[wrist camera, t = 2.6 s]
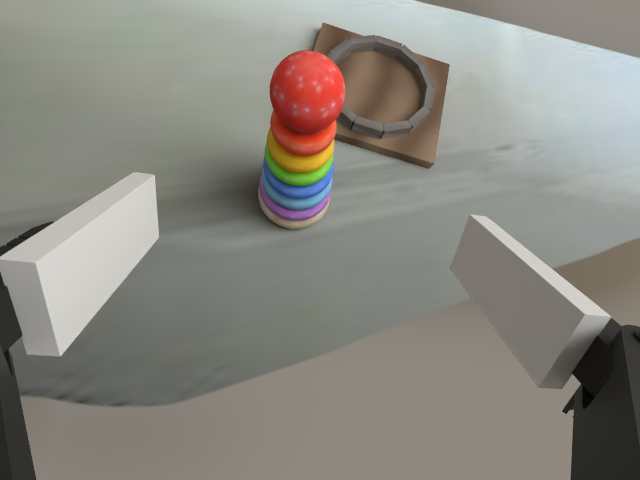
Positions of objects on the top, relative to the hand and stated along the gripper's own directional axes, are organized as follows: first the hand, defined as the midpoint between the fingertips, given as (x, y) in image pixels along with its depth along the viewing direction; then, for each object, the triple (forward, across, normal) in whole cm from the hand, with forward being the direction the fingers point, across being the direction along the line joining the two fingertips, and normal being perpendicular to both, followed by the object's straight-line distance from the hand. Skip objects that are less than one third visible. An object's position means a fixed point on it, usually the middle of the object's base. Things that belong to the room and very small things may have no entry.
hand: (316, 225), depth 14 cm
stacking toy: (+23, 0, -7) cm, 24 cm away
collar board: (+34, +8, +4) cm, 35 cm away
